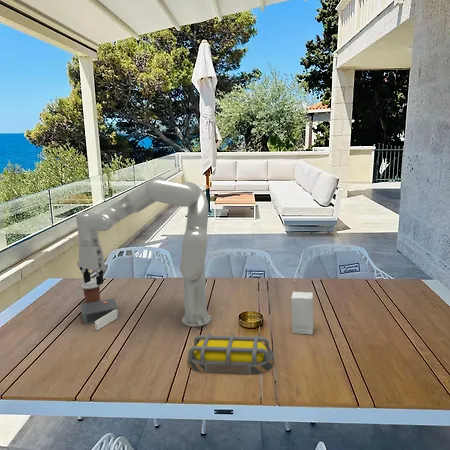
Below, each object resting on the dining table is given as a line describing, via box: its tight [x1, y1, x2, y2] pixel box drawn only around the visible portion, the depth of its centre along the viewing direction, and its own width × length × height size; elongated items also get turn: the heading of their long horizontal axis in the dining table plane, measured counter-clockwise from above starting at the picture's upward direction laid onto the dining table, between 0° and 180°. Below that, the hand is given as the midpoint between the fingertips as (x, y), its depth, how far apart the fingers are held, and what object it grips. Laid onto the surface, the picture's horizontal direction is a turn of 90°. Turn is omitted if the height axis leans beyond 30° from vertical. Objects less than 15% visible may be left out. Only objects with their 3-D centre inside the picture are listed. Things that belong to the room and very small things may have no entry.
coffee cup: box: [80, 277, 101, 304], centre depth 194 cm, size 9×9×12 cm
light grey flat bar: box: [94, 308, 120, 331], centre depth 172 cm, size 2×13×4 cm, turn 153°
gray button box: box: [80, 298, 120, 325], centre depth 182 cm, size 14×15×5 cm
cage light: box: [187, 333, 274, 376], centre depth 140 cm, size 15×8×30 cm
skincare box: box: [290, 291, 315, 335], centre depth 158 cm, size 8×7×16 cm
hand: (93, 282), depth 167 cm, fingers open, 6 cm apart
